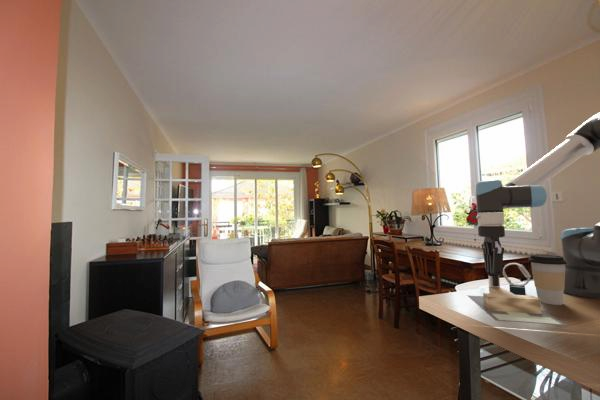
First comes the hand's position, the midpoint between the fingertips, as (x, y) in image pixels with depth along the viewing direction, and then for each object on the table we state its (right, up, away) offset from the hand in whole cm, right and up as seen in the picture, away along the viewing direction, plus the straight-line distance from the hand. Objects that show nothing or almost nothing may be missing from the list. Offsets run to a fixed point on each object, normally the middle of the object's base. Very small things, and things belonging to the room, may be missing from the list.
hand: (494, 294), depth 93 cm
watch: (+12, -2, +5) cm, 13 cm away
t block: (-2, -1, -7) cm, 7 cm away
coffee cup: (+15, -1, -5) cm, 15 cm away
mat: (-2, -1, -10) cm, 10 cm away
